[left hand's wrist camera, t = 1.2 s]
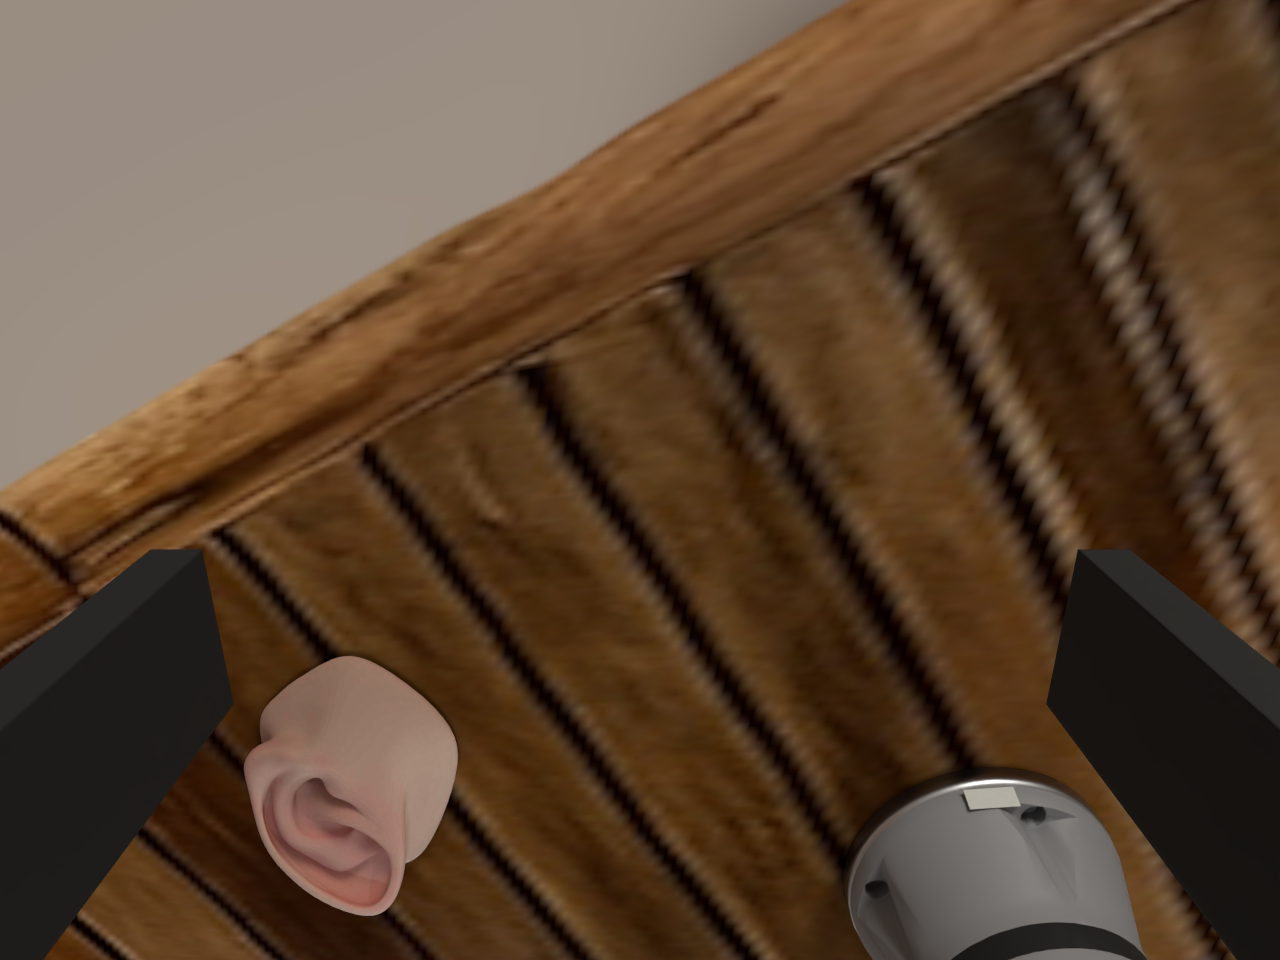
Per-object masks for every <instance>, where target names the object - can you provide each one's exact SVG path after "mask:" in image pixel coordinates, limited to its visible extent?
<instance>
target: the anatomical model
mask: <svg viewBox="0 0 1280 960" xmlns="http://www.w3.org/2000/svg"><path fill="white" fill-rule="evenodd" d="M260 734H261V742H262V744H260V745H259V746H257V747H255V748H254V749H253V750H252V751H251V752H250V753H249V755H248V756H247V758H246V760H245V763H244V773H245V778H246V783H247V787H248V791H249V795H250V799H251V804H252V808H253V812H254V817H255V820H256V824H257V827H258V831H259V833H260V836H261V838H262V841H263V843H264V845H265V847H266V849H267V850H268V852H269V854H270V855H271V857H272V858H273V859H274V861H275V862H276V863H277V865H278V866H279V867H280V868H281V869H282V870H283V871H284V872H285V873H286V874H287V875H288V876H289V877H290V878H291V879H292V880H293V881H295V882H296V883H297V884H298V885H299V886H300V887H302V888H303V889H304V890H305V891H307V892H308V893H310V894H311V895H313V896H314V897H316V898H318V899H319V900H321V901H323V902H325V903H327V904H329V905H331V906H333V907H335V908H338V909H341V910H344V911H346V912H350V913H354V914H357V915H364V916H371V915H377V914H379V913H382V912H383V911H385V910H386V909H387V908H389V906H390V905H391V904H392V903H393V901H394V900H395V898H396V896H397V894H398V892H399V889H400V886H401V883H402V879H403V874H404V869H405V863H407V862H410V861H412V860H414V859H415V858H416V857H418V856H419V855H420V854H421V853H422V852H423V851H424V850H425V848H426V847H427V845H428V844H429V842H430V841H431V839H432V837H433V835H434V833H435V831H436V829H437V828H438V825H439V823H440V821H441V819H442V816H443V813H444V811H445V808H446V806H447V803H448V800H449V797H450V794H451V791H452V787H453V783H454V780H455V775H456V769H457V762H458V750H457V743H456V740H455V737H454V735H453V733H452V731H451V729H450V727H449V725H448V724H447V723H446V721H445V720H444V718H443V717H442V716H441V715H440V714H439V713H438V711H437V710H436V709H435V708H434V707H433V706H432V705H431V704H430V703H429V702H428V701H427V700H426V699H425V698H424V697H423V696H421V695H420V694H419V693H418V692H416V691H415V690H414V689H413V688H411V687H410V686H409V685H407V684H406V683H405V682H403V681H402V680H400V679H399V678H398V677H396V676H395V675H393V674H392V673H390V672H389V671H387V670H385V669H384V668H382V667H380V666H379V665H377V664H375V663H373V662H371V661H368V660H366V659H363V658H360V657H354V656H343V657H338V658H335V659H332V660H330V661H327V662H325V663H323V664H321V665H319V666H317V667H316V668H314V669H313V670H311V671H309V672H308V673H306V674H305V675H303V676H301V677H300V678H298V679H296V680H295V681H294V682H292V683H291V684H289V685H288V686H287V687H286V688H285V689H284V690H282V691H281V692H280V693H279V694H278V695H277V696H276V697H275V698H274V699H273V700H272V701H271V702H270V703H269V704H268V705H267V706H266V708H265V709H264V711H263V713H262V715H261V720H260Z"/></svg>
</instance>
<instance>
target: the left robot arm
mask: <svg viewBox="0 0 1280 960" xmlns="http://www.w3.org/2000/svg"><path fill="white" fill-rule="evenodd" d="M232 706H233V699H232V694H231V689H230V684H229V679H228V674H227V669H226V664H225V660H224V655H223V650H222V645H221V640H220V635H219V630H218V625H217V621H216V616H215V611H214V606H213V601H212V596H211V591H210V586H209V581H208V577H207V572H206V567H205V562H204V557H203V552H202V550H150V551H148V552H147V553H146V554H145V555H143V556H142V557H141V558H140V559H138V560H137V561H136V562H135V563H133V564H132V565H131V566H130V567H128V568H127V569H126V570H125V571H123V572H122V573H121V574H120V575H118V576H117V577H116V578H115V579H113V580H112V581H111V582H110V583H108V584H107V585H106V586H105V587H103V588H102V589H101V590H100V591H98V592H97V593H96V594H95V595H93V596H92V597H91V598H90V599H88V600H87V601H86V602H85V603H83V604H82V605H81V606H80V607H78V608H77V609H76V610H75V611H73V612H72V613H71V614H70V615H68V616H67V617H66V618H65V619H63V620H62V621H61V622H60V623H58V624H57V625H56V626H55V627H53V628H52V629H51V630H50V631H48V632H47V633H46V634H45V635H43V636H42V637H41V638H40V639H38V640H37V641H36V642H35V643H33V644H32V645H31V646H30V647H28V648H27V649H26V650H25V651H23V652H22V653H21V654H20V655H18V656H17V657H16V658H15V659H13V660H12V661H11V662H10V663H8V664H7V665H6V666H5V667H3V668H2V669H1V670H0V960H43V959H44V958H45V957H46V955H47V954H48V953H49V951H50V950H51V949H52V947H53V946H54V945H55V943H56V942H57V940H58V939H59V938H60V936H61V935H62V934H63V932H64V931H65V930H66V928H67V927H68V926H69V924H70V923H71V922H72V920H73V919H74V918H75V916H76V915H77V914H78V912H79V911H80V910H81V908H82V907H83V906H84V904H85V903H86V902H87V900H88V899H89V898H90V896H91V895H92V893H93V892H94V891H95V889H96V888H97V887H98V885H99V884H100V883H101V881H102V880H103V879H104V877H105V876H106V875H107V873H108V872H109V871H110V869H111V868H112V867H113V865H114V864H115V863H116V861H117V860H118V859H119V857H120V856H121V855H122V853H123V852H124V851H125V849H126V848H127V847H128V845H129V844H130V842H131V841H132V840H133V838H134V837H135V836H136V834H137V833H138V832H139V830H140V829H141V828H142V826H143V825H144V824H145V822H146V821H147V820H148V818H149V817H150V816H151V814H152V813H153V812H154V810H155V809H156V808H157V806H158V805H159V804H160V802H161V801H162V800H163V798H164V797H165V796H166V794H167V793H168V791H169V790H170V789H171V787H172V786H173V785H174V783H175V782H176V781H177V779H178V778H179V777H180V775H181V774H182V773H183V771H184V770H185V769H186V767H187V766H188V765H189V763H190V762H191V761H192V759H193V758H194V757H195V755H196V754H197V753H198V751H199V750H200V749H201V747H202V746H203V745H204V743H205V742H206V740H207V739H208V738H209V736H210V735H211V734H212V732H213V731H214V730H215V728H216V727H217V726H218V724H219V723H220V722H221V720H222V719H223V718H224V716H225V715H226V714H227V712H228V711H229V710H230V708H231V707H232ZM1047 706H1048V707H1049V708H1050V710H1051V711H1052V712H1053V714H1054V715H1055V716H1056V718H1057V719H1058V720H1059V722H1060V723H1061V724H1062V726H1063V727H1064V728H1065V730H1066V731H1067V732H1068V734H1069V735H1070V736H1071V738H1072V739H1073V740H1074V742H1075V743H1076V745H1077V746H1078V747H1079V749H1080V750H1081V751H1082V753H1083V754H1084V755H1085V757H1086V758H1087V759H1088V761H1089V762H1090V763H1091V765H1092V766H1093V767H1094V769H1095V770H1096V771H1097V773H1098V774H1099V775H1100V777H1101V778H1102V779H1103V781H1104V782H1105V783H1106V785H1107V786H1108V787H1109V789H1110V790H1111V791H1112V793H1113V794H1114V796H1115V797H1116V798H1117V800H1118V801H1119V802H1120V804H1121V805H1122V806H1123V808H1124V809H1125V810H1126V812H1127V813H1128V814H1129V816H1130V817H1131V818H1132V820H1133V821H1134V822H1135V824H1136V825H1137V826H1138V828H1139V829H1140V830H1141V832H1142V833H1143V834H1144V836H1145V837H1146V838H1147V840H1148V841H1149V842H1150V844H1151V845H1152V847H1153V848H1154V849H1155V851H1156V852H1157V853H1158V855H1159V856H1160V857H1161V859H1162V860H1163V861H1164V863H1165V864H1166V865H1167V867H1168V868H1169V869H1170V871H1171V872H1172V873H1173V875H1174V876H1175V877H1176V879H1177V880H1178V881H1179V883H1180V884H1181V885H1182V887H1183V888H1184V889H1185V891H1186V892H1187V893H1188V895H1189V896H1190V898H1191V899H1192V900H1193V902H1194V903H1195V904H1196V906H1197V907H1198V908H1199V910H1200V911H1201V912H1202V914H1203V915H1204V916H1205V918H1206V919H1207V920H1208V922H1209V923H1210V924H1211V926H1212V927H1213V928H1214V930H1215V931H1216V932H1217V934H1218V935H1219V936H1220V938H1221V939H1222V940H1223V942H1224V943H1225V945H1226V946H1227V947H1228V949H1229V950H1230V951H1231V953H1232V954H1233V955H1234V957H1235V958H1236V959H1237V960H1280V670H1279V669H1278V668H1277V667H1275V666H1274V665H1273V664H1272V663H1270V662H1269V661H1268V660H1267V659H1265V658H1264V657H1263V656H1262V655H1260V654H1259V653H1258V652H1257V651H1255V650H1254V649H1253V648H1252V647H1250V646H1249V645H1248V644H1247V643H1245V642H1244V641H1243V640H1242V639H1240V638H1239V637H1238V636H1237V635H1235V634H1234V633H1233V632H1232V631H1230V630H1229V629H1228V628H1227V627H1225V626H1224V625H1223V624H1222V623H1220V622H1219V621H1218V620H1217V619H1215V618H1214V617H1213V616H1212V615H1210V614H1209V613H1208V612H1207V611H1205V610H1204V609H1203V608H1202V607H1200V606H1199V605H1198V604H1197V603H1195V602H1194V601H1193V600H1192V599H1190V598H1189V597H1188V596H1187V595H1185V594H1184V593H1183V592H1182V591H1180V590H1179V589H1178V588H1177V587H1175V586H1174V585H1173V584H1172V583H1170V582H1169V581H1168V580H1167V579H1165V578H1164V577H1163V576H1162V575H1160V574H1159V573H1158V572H1157V571H1155V570H1154V569H1153V568H1152V567H1150V566H1149V565H1148V564H1147V563H1145V562H1144V561H1143V560H1142V559H1140V558H1139V557H1138V556H1137V555H1135V554H1134V553H1133V552H1132V551H1130V550H1078V552H1077V557H1076V562H1075V567H1074V572H1073V577H1072V581H1071V586H1070V591H1069V596H1068V601H1067V606H1066V611H1065V616H1064V621H1063V625H1062V630H1061V635H1060V640H1059V645H1058V650H1057V655H1056V660H1055V664H1054V669H1053V674H1052V679H1051V684H1050V689H1049V694H1048V699H1047ZM844 892H845V897H846V901H847V905H848V908H849V912H850V915H851V919H852V922H853V925H854V927H855V929H856V931H857V933H858V935H859V937H860V940H861V942H862V944H863V945H864V947H865V949H866V950H867V952H868V953H869V955H870V956H871V958H872V959H873V960H1148V959H1147V958H1146V956H1145V954H1144V953H1143V951H1142V948H1141V944H1140V940H1139V936H1138V931H1137V927H1136V923H1135V919H1134V915H1133V911H1132V907H1131V903H1130V899H1129V894H1128V890H1127V886H1126V882H1125V878H1124V874H1123V870H1122V866H1121V862H1120V859H1119V856H1118V854H1117V851H1116V849H1115V847H1114V844H1113V842H1112V840H1111V838H1110V836H1109V834H1108V832H1107V831H1106V829H1105V828H1104V826H1103V825H1102V823H1101V822H1100V820H1099V819H1098V817H1097V816H1096V815H1095V813H1094V812H1093V810H1092V809H1091V807H1090V806H1089V805H1088V804H1087V803H1086V802H1085V800H1084V799H1083V798H1081V797H1080V796H1079V795H1078V794H1077V793H1076V792H1074V791H1073V790H1071V789H1070V788H1069V787H1067V786H1065V785H1064V784H1062V783H1060V782H1058V781H1056V780H1054V779H1052V778H1049V777H1047V776H1044V775H1041V774H1038V773H1034V772H1030V771H1025V770H1021V769H1013V768H998V767H991V768H975V769H967V770H962V771H956V772H952V773H948V774H945V775H941V776H938V777H935V778H932V779H930V780H927V781H925V782H922V783H920V784H918V785H916V786H914V787H912V788H910V789H908V790H906V791H904V792H903V793H901V794H900V795H898V796H896V797H895V798H893V799H892V800H891V801H889V802H888V803H887V804H885V805H884V806H883V807H882V808H881V809H880V810H879V811H877V812H876V813H875V814H874V815H873V816H872V817H871V818H870V820H869V821H868V822H867V823H866V824H865V825H864V827H863V828H862V829H861V831H860V832H859V834H858V835H857V837H856V839H855V840H854V842H853V844H852V846H851V849H850V851H849V854H848V857H847V860H846V864H845V869H844Z"/></svg>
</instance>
